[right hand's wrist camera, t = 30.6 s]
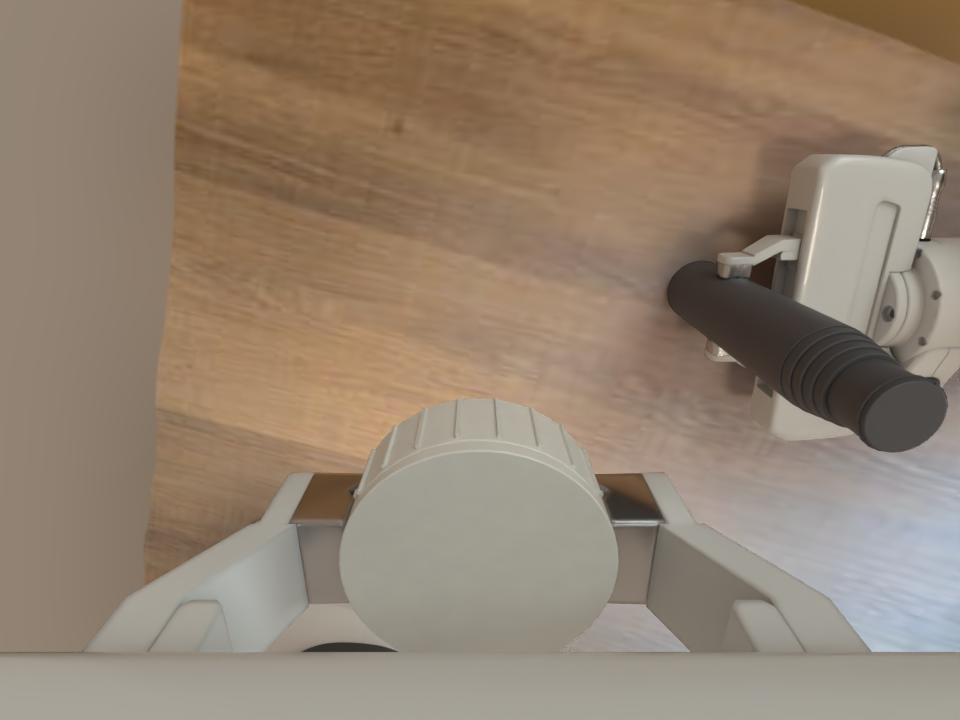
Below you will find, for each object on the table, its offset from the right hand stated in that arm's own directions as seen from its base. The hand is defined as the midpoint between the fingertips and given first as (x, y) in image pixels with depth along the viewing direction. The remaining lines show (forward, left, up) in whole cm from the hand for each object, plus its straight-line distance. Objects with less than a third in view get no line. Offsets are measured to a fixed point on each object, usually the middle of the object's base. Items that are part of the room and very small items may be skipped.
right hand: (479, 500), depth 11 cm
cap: (0, 0, +2) cm, 2 cm away
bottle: (+18, 0, -32) cm, 37 cm away
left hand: (+17, 0, -27) cm, 32 cm away
